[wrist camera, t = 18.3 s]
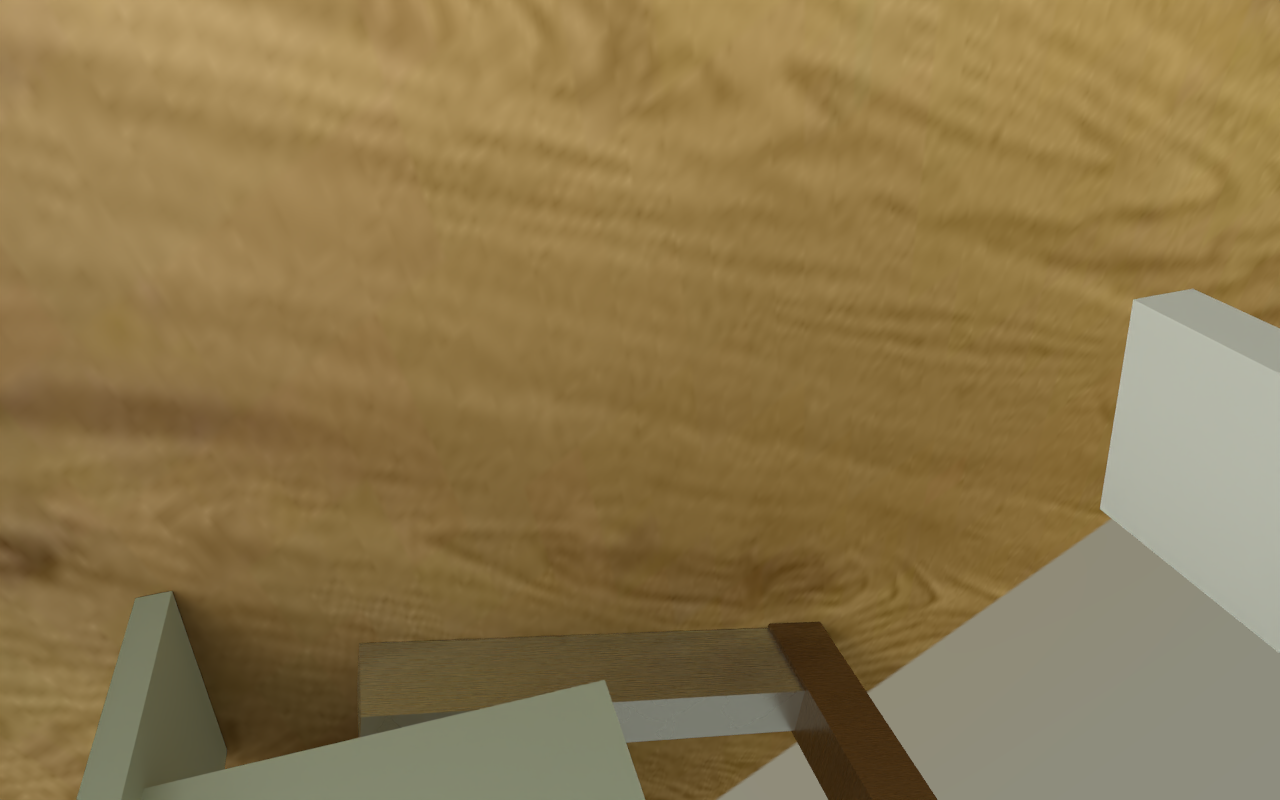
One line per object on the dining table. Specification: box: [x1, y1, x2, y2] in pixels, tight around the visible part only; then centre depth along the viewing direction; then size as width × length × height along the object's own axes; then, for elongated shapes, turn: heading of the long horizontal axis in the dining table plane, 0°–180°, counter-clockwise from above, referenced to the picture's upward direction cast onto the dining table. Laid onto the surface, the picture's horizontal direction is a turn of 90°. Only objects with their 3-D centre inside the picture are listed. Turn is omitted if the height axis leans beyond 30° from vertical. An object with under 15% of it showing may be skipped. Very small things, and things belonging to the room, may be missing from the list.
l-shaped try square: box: [357, 622, 937, 800], centre depth 46 cm, size 24×3×14 cm, turn 81°
